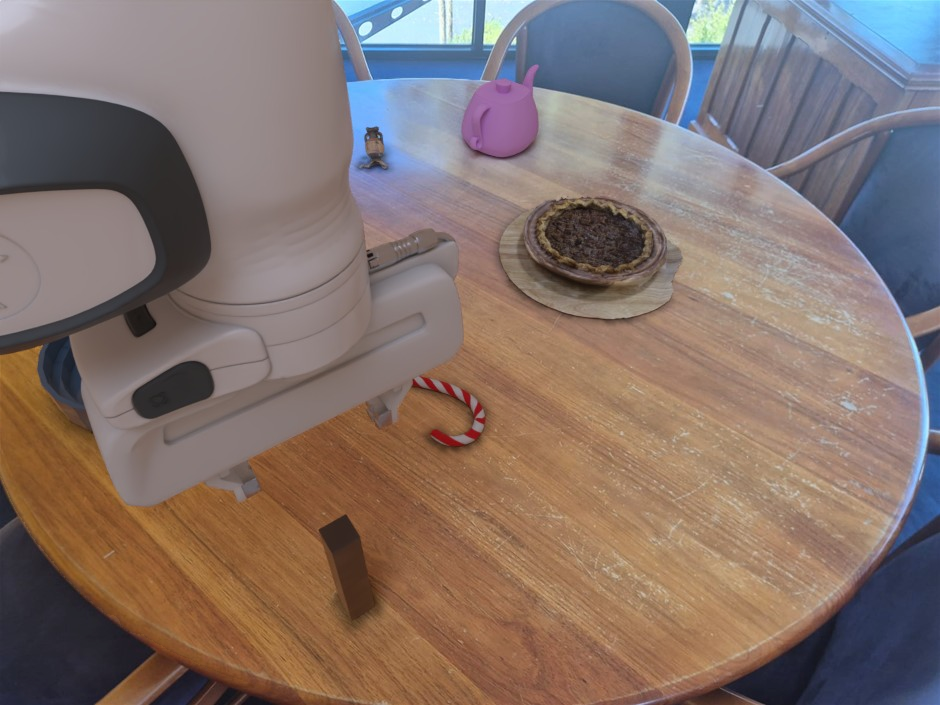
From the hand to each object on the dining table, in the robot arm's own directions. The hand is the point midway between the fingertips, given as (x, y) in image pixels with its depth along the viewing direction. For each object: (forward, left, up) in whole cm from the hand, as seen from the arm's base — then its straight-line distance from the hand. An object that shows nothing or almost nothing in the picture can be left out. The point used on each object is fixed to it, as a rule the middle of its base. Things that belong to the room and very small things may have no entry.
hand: (318, 452), depth 39 cm
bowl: (-7, +40, -25) cm, 48 cm away
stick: (0, 0, -25) cm, 25 cm away
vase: (+40, +68, -25) cm, 83 cm away
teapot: (+64, +62, -25) cm, 93 cm away
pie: (+54, +27, -25) cm, 65 cm away
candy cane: (+18, +16, -25) cm, 35 cm away
